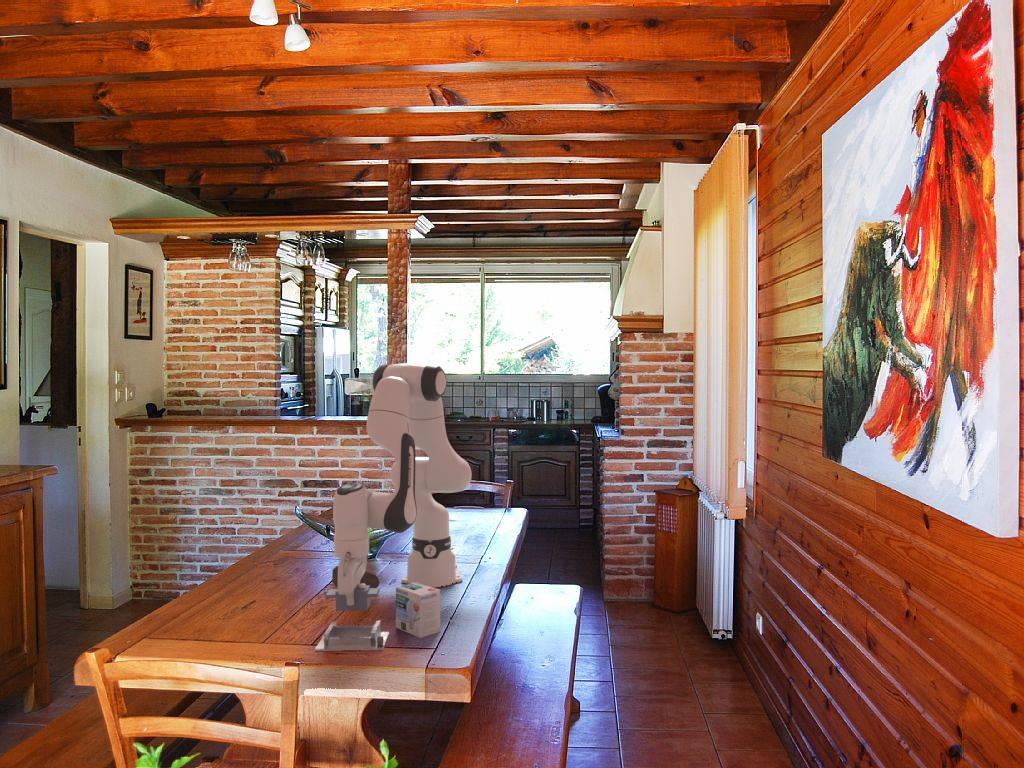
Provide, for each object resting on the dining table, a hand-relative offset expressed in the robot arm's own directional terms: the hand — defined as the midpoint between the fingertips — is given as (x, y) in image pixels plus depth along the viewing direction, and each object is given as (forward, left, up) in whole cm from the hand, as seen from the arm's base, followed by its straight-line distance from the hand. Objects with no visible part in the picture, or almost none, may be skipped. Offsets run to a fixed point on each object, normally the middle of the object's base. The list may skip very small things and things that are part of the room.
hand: (353, 600), depth 195 cm
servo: (0, 0, -2) cm, 2 cm away
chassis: (+11, +2, -7) cm, 13 cm away
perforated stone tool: (-33, -5, -7) cm, 34 cm away
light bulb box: (+3, +17, -7) cm, 19 cm away
